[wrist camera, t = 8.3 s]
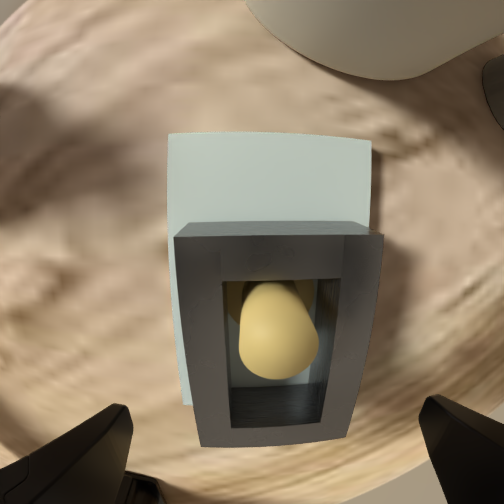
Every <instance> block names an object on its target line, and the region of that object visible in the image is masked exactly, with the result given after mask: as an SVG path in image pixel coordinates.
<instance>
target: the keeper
mask: <svg viewBox="0 0 504 504" xmlns="http://www.w3.org/2000/svg"><path fill="white" fill-rule="evenodd" d="M370 197H371V141H369V140H361V139H353V138H344V137H334V136H323V135H311V134H296V133H275V132H195V133H175V134H168V158H167V220H168V251H169V271H170V287H171V301H172V313H173V325H174V335H175V344H176V353H177V362H178V370H179V378H180V385H181V392H182V399H183V405H193V402H192V397H191V391H190V384H189V378H188V371H187V365H186V358H185V350H184V343H183V335H182V327H181V318H180V309H179V300H178V290H177V279H176V267H175V254H174V239H173V237H174V236H175V235H176V234H177V233H178V232H179V231H180V230H181V229H182V228H183V227H184V226H185V225H186V224H188V223H189V222H227V221H354V222H357V223H359V224H361V225H364V226H366V227H368V228H369V217H370ZM317 284H318V279H305V280H271V281H227V306H228V328H229V349H230V368H231V385H232V387H265V386H283V385H297V384H308V379H309V371H310V364H311V363H312V362H313V360H314V359H315V357H316V355H317V352H318V347H319V338H318V334H317V332H316V329H315V327H314V323H315V311H316V298H317Z"/></svg>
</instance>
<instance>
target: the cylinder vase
mask: <svg viewBox="0 0 504 504" xmlns="http://www.w3.org/2000/svg"><path fill="white" fill-rule="evenodd" d="M244 1H245V3H246V5H247V6H248V8H249V9H250V11H251V12H252V14H253V15H254V16H255V17H256V19H257V20H258V21H259V22H260V23H261V24H262V25H263V26H264V27H265V28H266V29H267V30H268V31H269V32H270V33H271V34H273V35H274V36H275V37H276V38H278V39H279V40H280V41H282V42H283V43H284V44H286V45H287V46H289V47H290V48H292V49H293V50H295V51H297V52H298V53H300V54H302V55H304V56H305V57H307V58H309V59H311V60H313V61H315V62H318V63H320V64H322V65H324V66H327V67H329V68H332V69H335V70H337V71H340V72H344V73H347V74H350V75H354V76H358V77H363V78H369V79H376V80H404V79H410V78H414V77H417V76H420V75H423V74H425V73H427V72H429V71H431V70H433V69H435V68H436V67H438V66H440V65H442V64H444V63H446V62H447V61H449V60H451V59H453V58H455V57H457V56H459V55H460V54H462V53H464V52H466V51H468V50H470V49H472V48H474V47H476V46H478V45H480V44H482V43H484V42H486V41H488V40H490V39H492V38H494V37H496V36H498V35H500V34H502V33H504V0H244Z"/></svg>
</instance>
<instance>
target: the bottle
mask: <svg viewBox="0 0 504 504" xmlns="http://www.w3.org/2000/svg"><path fill="white" fill-rule="evenodd" d="M483 86H484V90H485V94H486V98H487V101H488V103H489V106H490V108H491V110H492V112H493V115H494V117H495V118H496V120H497V121H498V123H499V124H500V126H501V127H502V128H503V129H504V55H501V56H499V57H497V58H494V59H492V60H490V61H489V62H487V63H486V65H485V67H484V70H483Z"/></svg>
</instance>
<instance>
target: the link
mask: <svg viewBox="0 0 504 504" xmlns="http://www.w3.org/2000/svg"><path fill="white" fill-rule="evenodd" d="M173 239H174V254H175V267H176V279H177V290H178V300H179V309H180V318H181V327H182V335H183V343H184V350H185V358H186V365H187V371H188V378H189V384H190V391H191V397H192V402H193V408H194V414H195V419H196V424H197V430H198V435H199V440H200V445H201V447H223V448H236V447H266V446H281V445H293V444H303V443H311V442H319V441H326V440H332V439H339V438H344V437H346V434H347V431H348V427H349V424H350V420H351V417H352V414H353V410H354V406H355V403H356V399H357V395H358V391H359V387H360V383H361V379H362V375H363V370H364V366H365V361H366V357H367V352H368V347H369V342H370V337H371V331H372V326H373V320H374V314H375V308H376V301H377V294H378V287H379V279H380V271H381V262H382V252H383V241H384V234H382V233H379V232H377V231H375V230H373V229H370V228H368V227H366V226H364V225H361V224H359V223H357V222H354V221H227V222H189V223H188V224H186V225H185V226H184V227H183V228H182V229H181V230H180V231H179V232H178V233H177V234H176V235H175V236H174V237H173ZM305 279H318V284H317V298H316V311H315V323H314V327H315V329H316V332H317V334H318V338H319V347H318V352H317V355H316V357H315V359H314V360H313V362H312V363H311V364H310V371H309V379H308V384H297V385H283V386H265V387H232V385H231V368H230V349H229V328H228V306H227V281H271V280H305Z"/></svg>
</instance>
